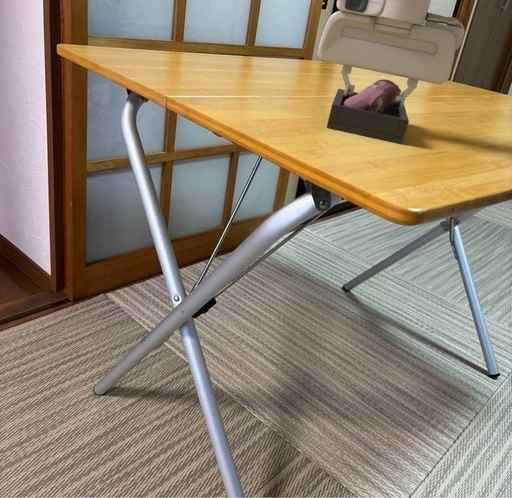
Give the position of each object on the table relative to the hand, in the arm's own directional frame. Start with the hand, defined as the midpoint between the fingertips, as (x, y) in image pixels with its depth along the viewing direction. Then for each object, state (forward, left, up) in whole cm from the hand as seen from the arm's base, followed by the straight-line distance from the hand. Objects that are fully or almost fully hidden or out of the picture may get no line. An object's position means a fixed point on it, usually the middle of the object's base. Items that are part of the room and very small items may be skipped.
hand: (372, 101), depth 82 cm
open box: (0, 0, -4) cm, 4 cm away
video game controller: (0, 0, -2) cm, 2 cm away
